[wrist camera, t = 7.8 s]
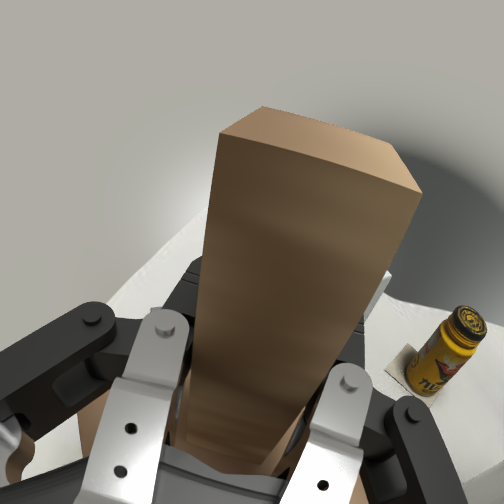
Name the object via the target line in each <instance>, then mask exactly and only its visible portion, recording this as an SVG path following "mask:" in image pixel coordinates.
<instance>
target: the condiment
mask: <svg viewBox="0 0 504 504" xmlns="http://www.w3.org/2000/svg"><path fill="white" fill-rule="evenodd" d="M486 333H487V327H486V323H485V322H484V320H483V318H482V317H481V316H480V315H479V314H478V313H477V312H476V311H475V310H474V309H472V308H470V307H468V306H459V307H457V308H456V309H455V310H454V311H453V313H452V314H451V315H450V316H449V317H448V319H446V320H444V321H443V322H442V323H441V324H440V325H439V327H438V328H437V329H436V331H435V332H434V333H433V334H432V336H431V337H430V338H429V340H428V341H427V342H426V343H425V345H424V346H423V347H422V348H421V349H420V351H419V352H417V351H416V350H415V349H414V348H413V347H412V346H411V345H409V344H407V345H406V346H405V347H404V348H403V349H402V351H401V352H400V353H399V354H398V355H397V356H396V357H395V359H394V360H393V361H392V362H391V363H390V364H389V365H388V366H387V367H386V368H385V370H386V371H387V372H388V373H389V374H390V375H391V376H392V377H394V378H395V379H396V380H397V381H398V382H399V383H401V384H402V385H403V386H404V387H405V388H406V389H407V390H408V391H409V392H410V393H412V394H413V395H414V396H415V397H417V398H419V399H421V400H422V401H423V402H424V403H425V404H426V405H427V406H428V408H430V407H431V405H432V404H433V402H434V400H435V398H436V397H437V395H438V394H439V392H440V390H441V389H442V387H443V386H444V385H445V384H446V383H447V382H448V381H449V380H450V379H451V378H452V377H453V376H454V375H455V374H456V373H457V372H458V371H459V369H460V368H461V367H462V366H463V365H464V364H465V363H466V362H467V361H468V360H469V359H470V358H471V356H472V355H473V354H474V353H475V351H476V348H477V346H478V345H479V343H480V342H481V340H482V339H483V338H484V337H485V335H486ZM401 370H402V371H403V372H402V371H401ZM402 373H403V374H402Z"/></svg>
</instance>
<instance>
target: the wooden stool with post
mask: <svg viewBox="0 0 504 504" xmlns="http://www.w3.org/2000/svg"><path fill="white" fill-rule="evenodd" d="M421 196H422V192H421V190H420V189H419V187H418V185H417V184H416V182H415V180H414V179H413V177H412V176H411V174H410V172H409V171H408V169H407V168H406V166H405V165H404V163H403V162H402V160H401V159H400V157H399V156H398V154H397V153H396V151H395V150H394V148H393V147H392V145H391V144H389V143H386V142H383V141H381V140H378V139H375V138H372V137H369V136H366V135H363V134H360V133H357V132H354V131H351V130H348V129H345V128H342V127H339V126H335V125H332V124H329V123H325V122H322V121H318V120H315V119H311V118H307V117H304V116H300V115H296V114H292V113H289V112H284V111H281V110H276V109H272V108H268V107H263V106H262V107H261V108H259V109H257V110H255V111H254V112H252V113H250V114H249V115H247V116H246V117H244V118H242V119H241V120H239V121H237V122H236V123H234V124H233V125H231V126H229V127H228V128H226V129H225V130H223V131H222V132H220V133H219V139H218V145H217V152H216V158H215V165H214V171H213V178H212V185H211V192H210V199H209V207H208V214H207V222H206V229H205V237H204V245H203V253H202V262H201V271H200V279H199V289H198V298H197V308H196V318H195V328H194V339H193V350H192V362H191V369H190V371H189V374H188V376H187V378H186V383H185V388H184V393H183V398H182V403H181V408H180V413H179V419H178V424H177V430H176V439H175V447H174V448H176V449H179V450H181V451H184V452H187V453H188V454H190V455H191V456H193V457H194V458H196V459H198V460H199V461H201V462H203V463H204V464H206V465H208V466H209V467H211V468H213V469H214V470H216V471H218V472H220V473H223V474H235V475H265V476H269V477H270V476H271V474H272V472H273V470H274V469H275V467H276V466H277V464H278V463H279V461H280V459H281V457H282V455H283V453H284V451H285V448H286V446H287V444H288V442H289V440H290V438H291V435H292V433H293V431H294V429H295V426H296V424H297V422H298V419H299V417H300V415H301V413H302V412H303V410H304V409H305V405H306V404H307V403H308V401H309V400H310V398H311V397H312V395H313V394H314V392H315V391H316V390H317V388H318V387H319V385H320V384H321V382H322V381H323V379H324V378H325V376H326V374H327V373H328V371H329V370H330V368H331V367H332V365H333V364H334V362H335V360H336V359H337V357H338V356H339V354H340V352H341V351H342V349H343V348H344V346H345V344H346V343H347V341H348V339H349V338H350V336H351V334H352V333H353V331H354V329H355V328H356V326H357V324H358V322H359V321H360V319H361V317H362V315H363V314H364V312H365V310H366V308H367V307H368V305H369V303H370V301H371V299H372V298H373V296H374V294H375V292H376V290H377V288H378V286H379V285H380V283H381V281H382V279H383V277H384V275H385V273H386V271H387V269H388V267H389V265H390V263H391V261H392V259H393V257H394V255H395V253H396V251H397V249H398V247H399V245H400V243H401V241H402V239H403V237H404V234H405V232H406V230H407V228H408V226H409V224H410V221H411V219H412V217H413V215H414V212H415V210H416V208H417V206H418V203H419V201H420V199H421ZM110 390H111V389H110ZM110 390H108V391H107V392H105V393H104V394H103V395H101V396H100V397H98V398H97V399H96V400H94V401H93V402H91V403H90V404H88V405H87V406H86V407H84V408H83V409H81V410H80V411H79V412H77V417H78V426H79V434H80V441H81V448H82V454H83V458H85V457H87V456H89V455H90V453H91V450H92V447H93V443H94V440H95V436H96V433H97V430H98V427H99V423H100V420H101V417H102V414H103V411H104V408H105V405H106V402H107V399H108V396H109V393H110ZM348 504H369V503H368V500H367V497H366V494H365V490H364V487H363V484H362V481H361V478H360V475H359V473H358V476H357V479H356V483H355V486H354V489H353V492H352V495H351V498H350V501H349V503H348Z"/></svg>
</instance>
